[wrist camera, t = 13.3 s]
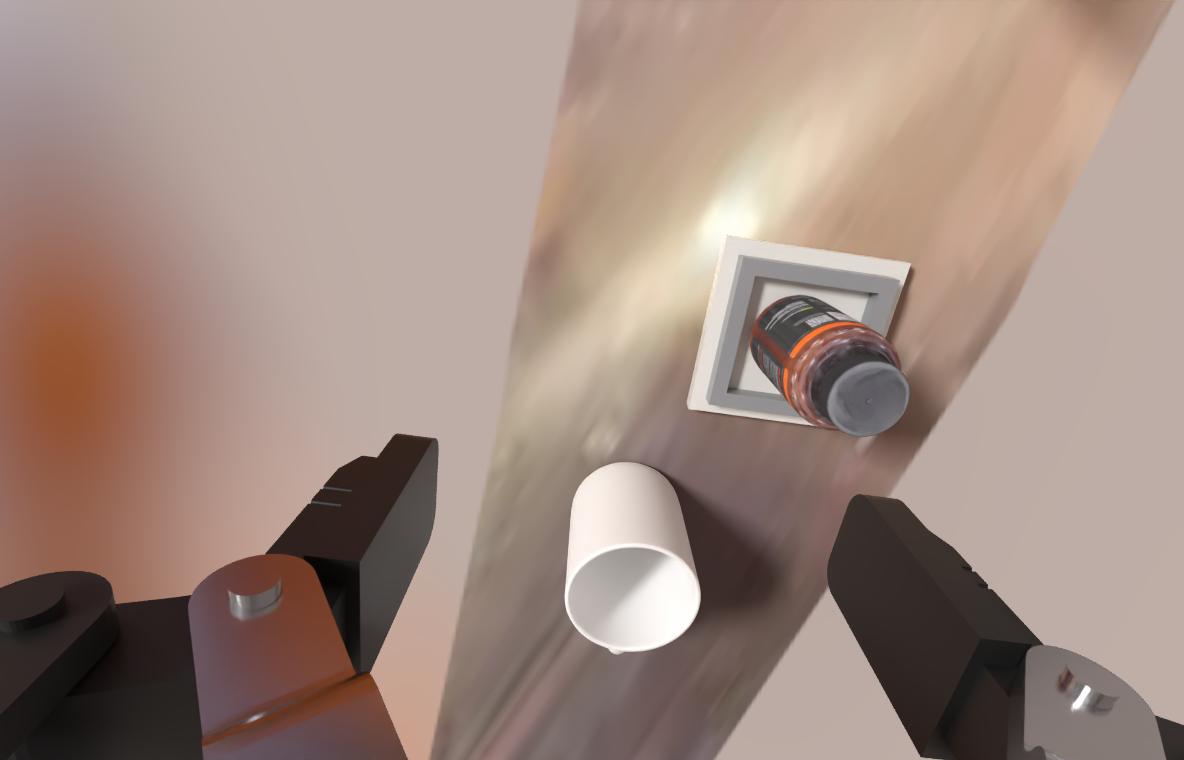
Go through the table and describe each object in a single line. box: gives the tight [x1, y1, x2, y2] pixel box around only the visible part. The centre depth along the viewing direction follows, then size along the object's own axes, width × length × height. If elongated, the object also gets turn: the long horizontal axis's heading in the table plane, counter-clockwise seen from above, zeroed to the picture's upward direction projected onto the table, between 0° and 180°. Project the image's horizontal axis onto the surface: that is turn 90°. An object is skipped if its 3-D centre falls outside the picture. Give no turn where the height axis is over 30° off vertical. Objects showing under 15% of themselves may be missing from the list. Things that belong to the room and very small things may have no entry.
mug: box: [565, 462, 701, 654], centre depth 40 cm, size 12×8×10 cm
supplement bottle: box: [750, 295, 910, 437], centre depth 32 cm, size 6×6×11 cm
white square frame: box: [687, 235, 911, 426], centre depth 38 cm, size 12×12×2 cm
